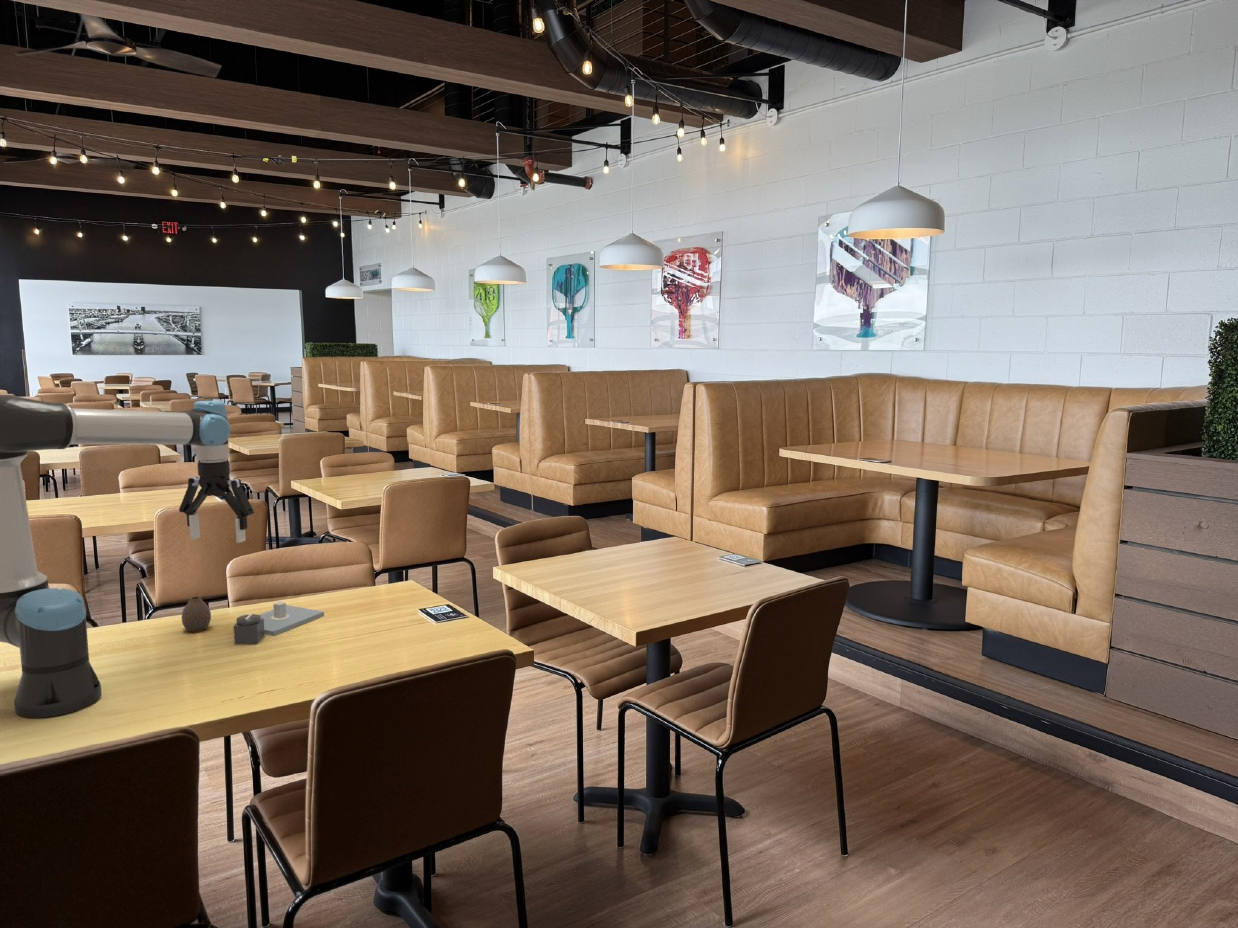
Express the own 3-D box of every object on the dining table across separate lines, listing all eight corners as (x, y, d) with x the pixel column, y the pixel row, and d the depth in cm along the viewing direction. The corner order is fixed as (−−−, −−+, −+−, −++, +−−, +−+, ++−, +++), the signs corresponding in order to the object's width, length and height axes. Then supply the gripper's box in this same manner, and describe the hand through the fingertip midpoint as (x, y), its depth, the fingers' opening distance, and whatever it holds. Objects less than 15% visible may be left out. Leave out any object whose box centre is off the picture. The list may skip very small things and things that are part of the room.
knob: (257, 643, 207) (256, 619, 206) (234, 644, 207) (233, 620, 206) (264, 636, 213) (263, 612, 212) (242, 636, 212) (240, 613, 211)
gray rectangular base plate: (273, 635, 213) (272, 616, 212) (234, 627, 219) (233, 609, 218) (324, 615, 229) (323, 597, 229) (286, 608, 235) (285, 591, 234)
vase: (203, 634, 214) (201, 601, 212) (177, 633, 214) (174, 601, 213) (216, 625, 221) (214, 593, 219) (191, 624, 221) (189, 593, 219)
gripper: (265, 460, 213) (269, 539, 216) (181, 456, 218) (186, 534, 221) (247, 464, 206) (251, 546, 209) (160, 460, 211) (166, 540, 214)
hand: (218, 540), depth 215 cm, fingers open, 13 cm apart
